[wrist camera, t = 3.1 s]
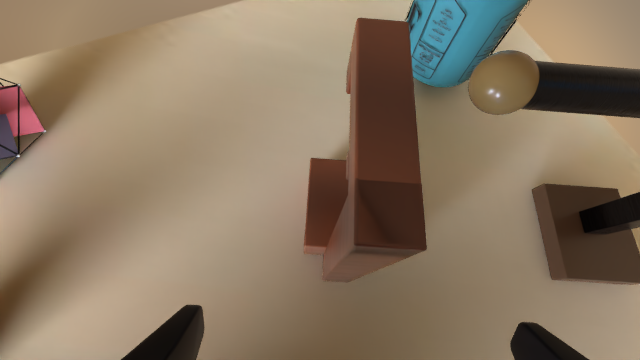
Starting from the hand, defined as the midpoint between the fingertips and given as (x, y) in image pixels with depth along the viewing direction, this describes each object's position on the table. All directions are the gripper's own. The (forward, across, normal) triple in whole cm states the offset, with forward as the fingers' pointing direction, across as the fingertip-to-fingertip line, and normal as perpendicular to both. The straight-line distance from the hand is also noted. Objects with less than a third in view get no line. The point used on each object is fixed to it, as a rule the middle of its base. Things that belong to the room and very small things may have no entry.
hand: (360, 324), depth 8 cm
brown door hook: (+10, 0, +3) cm, 11 cm away
